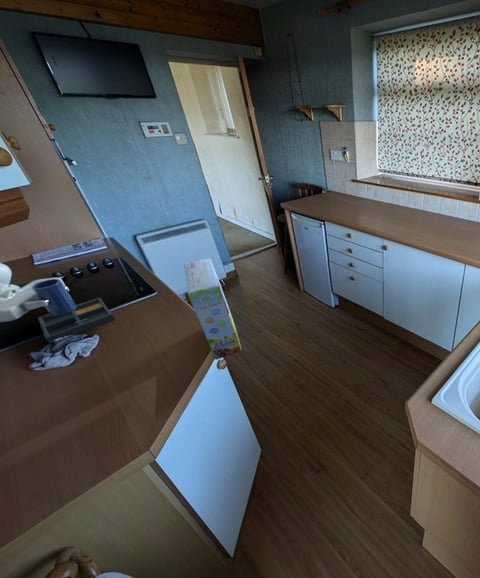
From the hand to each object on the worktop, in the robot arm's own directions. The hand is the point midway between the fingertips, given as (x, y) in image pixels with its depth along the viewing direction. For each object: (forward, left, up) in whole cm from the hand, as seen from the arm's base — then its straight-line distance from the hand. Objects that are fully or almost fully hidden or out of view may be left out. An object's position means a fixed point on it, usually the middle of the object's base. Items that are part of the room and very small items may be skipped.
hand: (57, 295), depth 92 cm
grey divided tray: (0, +13, -17) cm, 21 cm away
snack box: (+30, -37, -17) cm, 51 cm away
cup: (-1, +1, -5) cm, 6 cm away
